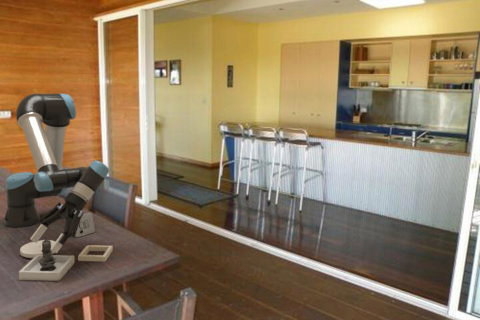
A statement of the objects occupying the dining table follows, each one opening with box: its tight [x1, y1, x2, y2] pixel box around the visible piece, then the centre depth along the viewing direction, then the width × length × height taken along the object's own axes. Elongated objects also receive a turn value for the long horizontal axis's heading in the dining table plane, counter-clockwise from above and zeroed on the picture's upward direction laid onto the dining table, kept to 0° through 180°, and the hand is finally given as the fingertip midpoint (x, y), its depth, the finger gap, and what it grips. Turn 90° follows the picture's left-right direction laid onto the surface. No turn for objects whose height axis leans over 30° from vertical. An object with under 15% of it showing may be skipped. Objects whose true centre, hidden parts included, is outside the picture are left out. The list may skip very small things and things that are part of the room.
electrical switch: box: [74, 212, 96, 238], centre depth 185 cm, size 9×5×9 cm, turn 141°
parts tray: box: [18, 254, 75, 282], centre depth 150 cm, size 14×14×3 cm
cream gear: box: [19, 239, 56, 259], centre depth 166 cm, size 14×14×2 cm
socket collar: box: [77, 244, 114, 262], centre depth 164 cm, size 10×10×2 cm
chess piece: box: [39, 237, 56, 271], centre depth 149 cm, size 6×6×12 cm
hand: (42, 246), depth 147 cm, fingers open, 13 cm apart
